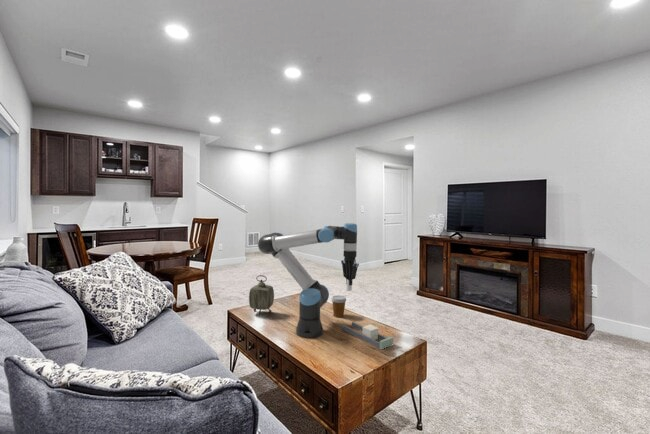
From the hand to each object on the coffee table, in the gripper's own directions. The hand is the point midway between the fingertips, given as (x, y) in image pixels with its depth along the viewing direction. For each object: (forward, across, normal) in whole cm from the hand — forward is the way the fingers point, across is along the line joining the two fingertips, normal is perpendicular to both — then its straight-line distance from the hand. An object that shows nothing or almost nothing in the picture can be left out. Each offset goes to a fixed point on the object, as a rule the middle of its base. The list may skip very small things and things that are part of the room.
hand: (349, 290), depth 182 cm
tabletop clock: (+23, +50, +31) cm, 63 cm away
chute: (+22, -14, 0) cm, 26 cm away
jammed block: (+22, -18, 0) cm, 28 cm away
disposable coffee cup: (+23, +18, -8) cm, 30 cm away
